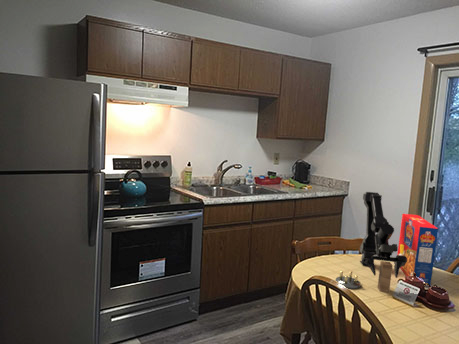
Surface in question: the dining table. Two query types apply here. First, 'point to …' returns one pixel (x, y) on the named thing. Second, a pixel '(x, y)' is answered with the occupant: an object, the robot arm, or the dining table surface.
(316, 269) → the dining table surface
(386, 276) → the walnut block
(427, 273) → the pasta box
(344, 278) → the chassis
